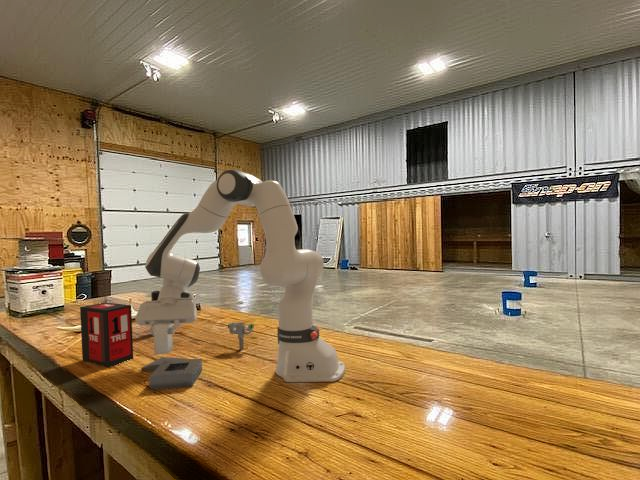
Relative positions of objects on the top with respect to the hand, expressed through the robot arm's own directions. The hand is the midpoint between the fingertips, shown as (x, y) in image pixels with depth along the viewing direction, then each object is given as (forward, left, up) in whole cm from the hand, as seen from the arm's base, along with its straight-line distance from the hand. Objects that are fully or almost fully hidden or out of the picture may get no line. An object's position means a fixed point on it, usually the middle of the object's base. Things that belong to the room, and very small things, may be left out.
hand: (162, 333), depth 116 cm
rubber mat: (0, 0, -11) cm, 11 cm away
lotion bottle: (+31, -34, -12) cm, 48 cm away
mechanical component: (-19, -20, -12) cm, 30 cm away
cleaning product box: (+26, -2, -12) cm, 29 cm away
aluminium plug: (0, -1, -6) cm, 6 cm away
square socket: (-12, +9, -11) cm, 18 cm away
